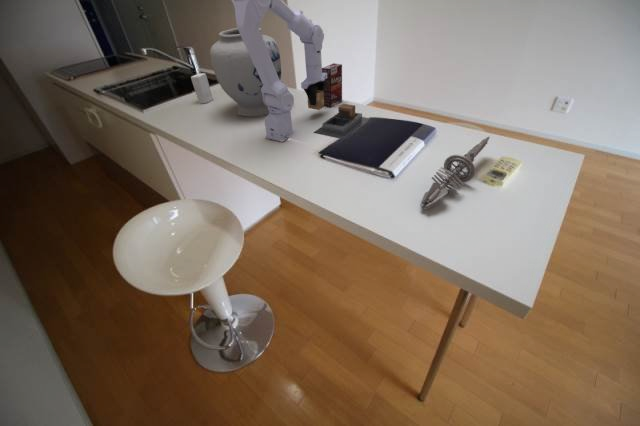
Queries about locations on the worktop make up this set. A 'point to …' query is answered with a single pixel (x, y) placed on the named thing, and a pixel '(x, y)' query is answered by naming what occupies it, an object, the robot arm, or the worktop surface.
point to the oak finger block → (318, 101)
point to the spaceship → (452, 175)
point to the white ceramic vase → (242, 71)
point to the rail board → (341, 126)
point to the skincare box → (202, 88)
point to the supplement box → (333, 85)
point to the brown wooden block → (346, 111)
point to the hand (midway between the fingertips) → (316, 103)
